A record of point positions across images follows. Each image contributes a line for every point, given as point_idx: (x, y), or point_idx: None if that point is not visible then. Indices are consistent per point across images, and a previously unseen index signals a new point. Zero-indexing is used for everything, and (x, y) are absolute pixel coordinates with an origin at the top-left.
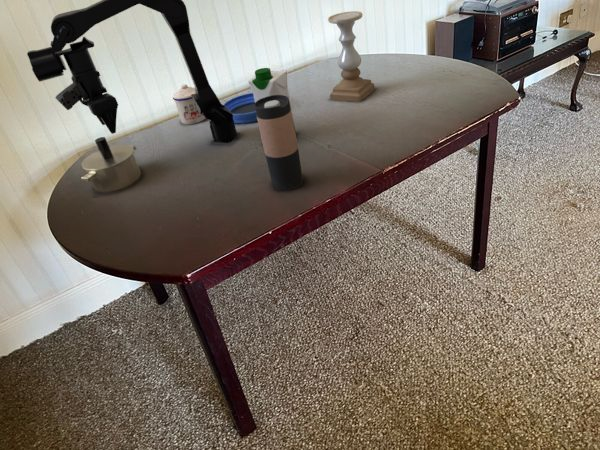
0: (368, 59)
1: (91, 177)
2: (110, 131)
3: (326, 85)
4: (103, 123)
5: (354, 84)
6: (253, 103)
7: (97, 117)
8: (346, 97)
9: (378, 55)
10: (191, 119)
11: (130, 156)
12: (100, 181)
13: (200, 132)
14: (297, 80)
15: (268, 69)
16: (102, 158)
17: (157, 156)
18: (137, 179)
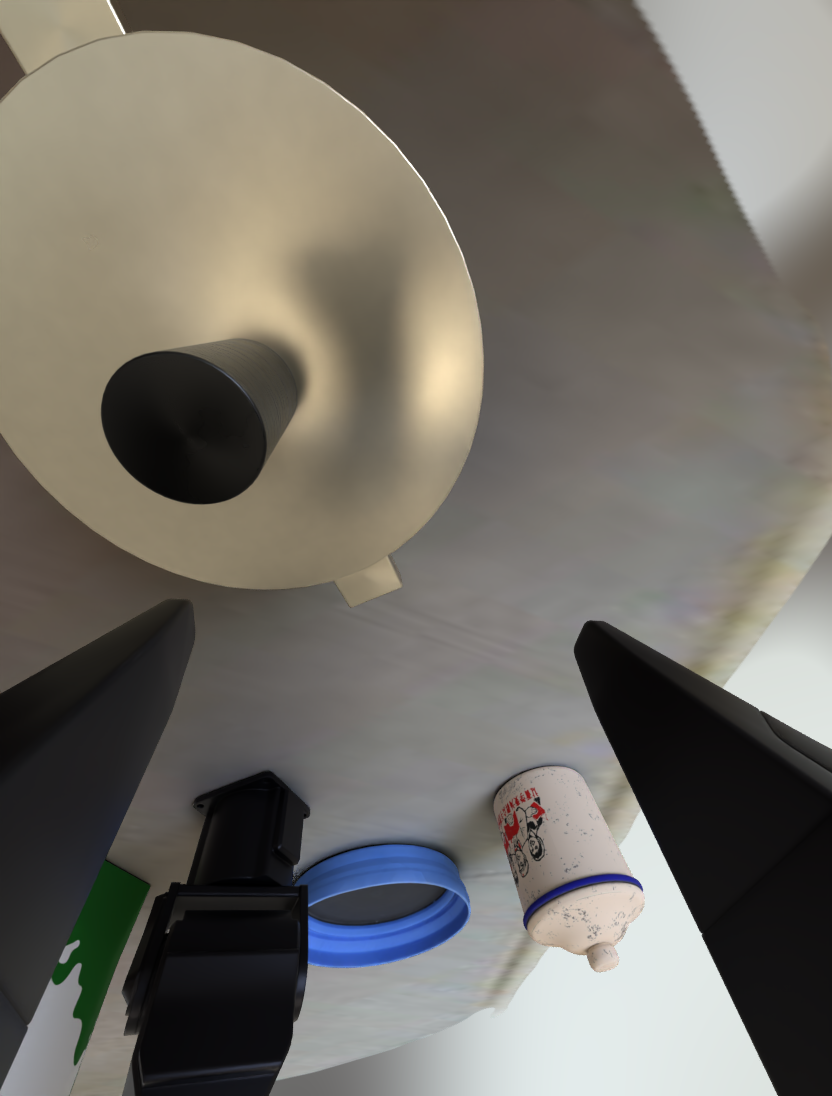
0: (373, 1044)
1: (11, 43)
2: (141, 616)
3: (336, 992)
4: (589, 639)
5: None
6: (427, 903)
7: (665, 678)
8: None
9: (370, 1053)
10: (512, 799)
11: (88, 520)
12: None
13: (413, 774)
14: (443, 971)
15: None
16: (257, 338)
17: (380, 615)
18: None
